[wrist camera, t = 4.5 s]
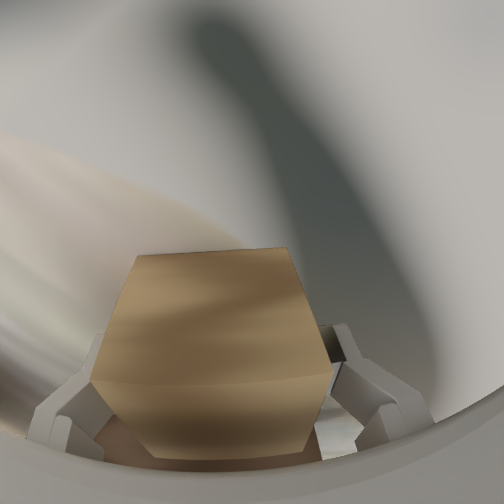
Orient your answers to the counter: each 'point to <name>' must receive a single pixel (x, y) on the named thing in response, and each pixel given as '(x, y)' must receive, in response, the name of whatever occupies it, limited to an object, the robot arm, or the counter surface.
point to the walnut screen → (136, 455)
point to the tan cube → (214, 356)
